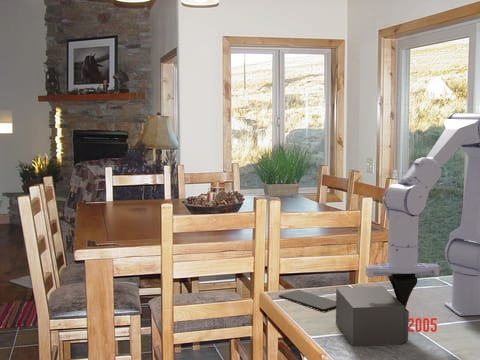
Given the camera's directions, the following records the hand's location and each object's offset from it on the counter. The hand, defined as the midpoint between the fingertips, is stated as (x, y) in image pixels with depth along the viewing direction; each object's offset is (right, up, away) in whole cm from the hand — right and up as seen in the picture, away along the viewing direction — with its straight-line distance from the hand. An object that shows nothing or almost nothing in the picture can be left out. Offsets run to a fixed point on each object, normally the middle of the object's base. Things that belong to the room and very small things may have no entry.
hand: (401, 310), depth 118 cm
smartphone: (-16, -3, +20) cm, 26 cm away
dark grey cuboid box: (-7, -5, 0) cm, 8 cm away
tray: (-6, -4, 0) cm, 7 cm away
